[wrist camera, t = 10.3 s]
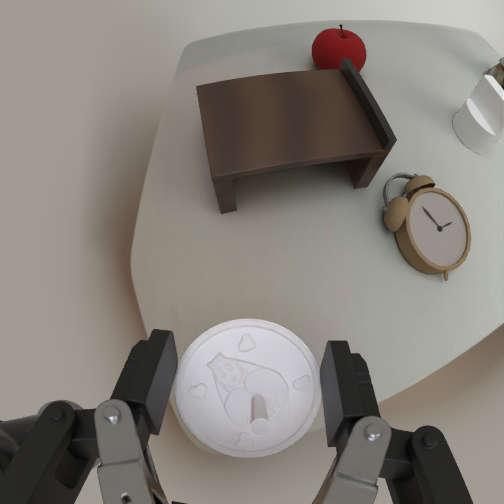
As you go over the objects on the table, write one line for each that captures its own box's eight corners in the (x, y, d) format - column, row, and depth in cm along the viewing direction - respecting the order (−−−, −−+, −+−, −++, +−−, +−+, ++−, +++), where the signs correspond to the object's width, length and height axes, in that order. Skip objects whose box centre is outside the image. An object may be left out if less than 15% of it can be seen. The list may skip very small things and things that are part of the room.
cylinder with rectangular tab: (444, 116, 44) (472, 73, 33) (471, 113, 45) (499, 75, 33) (470, 156, 42) (506, 117, 30) (495, 150, 42) (529, 116, 31)
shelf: (221, 214, 39) (208, 167, 28) (205, 129, 43) (193, 74, 32) (367, 187, 40) (397, 140, 29) (334, 110, 44) (349, 58, 33)
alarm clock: (446, 291, 33) (375, 195, 33) (424, 292, 38) (358, 207, 38) (482, 234, 35) (420, 149, 35) (461, 241, 40) (403, 163, 40)
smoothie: (251, 429, 20) (249, 535, 7) (187, 371, 21) (97, 403, 8) (312, 368, 21) (396, 398, 8) (248, 309, 23) (241, 257, 9)
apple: (310, 82, 46) (318, 37, 36) (308, 52, 48) (314, 10, 39) (363, 90, 45) (378, 47, 36) (355, 59, 48) (367, 19, 38)
